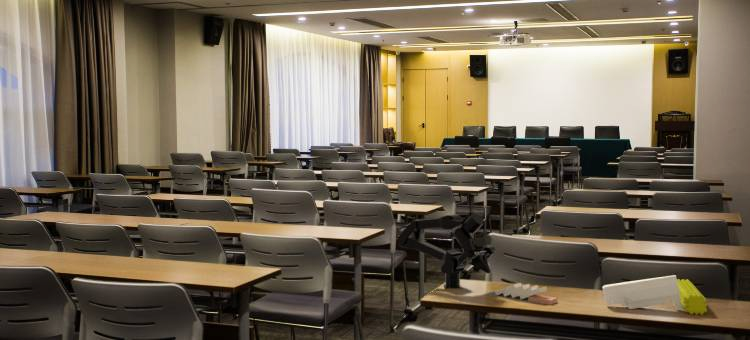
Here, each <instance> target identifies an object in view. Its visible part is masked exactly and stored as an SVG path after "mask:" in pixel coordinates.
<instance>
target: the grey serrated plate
mask: <svg viewBox="0 0 750 340" xmlns="http://www.w3.org/2000/svg"><path fill="white" fill-rule="evenodd" d="M495 291H496V290H494V291H489V292H487V293H483V294H482V295H483V296H490V297H495V298H502V299H507V300H513V301H517V302H525V303H529V304H536V305H541V303H538V302H532V301H528V298H524V299H520V296H518V297H514V298H512V296H511V295H509V296H505V297H504V295H503V294H499V295H496V293H495Z"/></svg>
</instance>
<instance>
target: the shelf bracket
mask: <svg viewBox="0 0 750 340" xmlns="http://www.w3.org/2000/svg"><path fill="white" fill-rule="evenodd" d="M677 279H678V278H677V275H675V274H673V275H666V276H661V277H660V276H659V277H652V278H644V279H639V280H630V281H624V282H618V283H617V282H616V283H610V284H604V285H603V286H602V287H601V288H602V292H603V297H604V302H605V304H606V305H607V306H610V305H611V306H612V305H617V304H618V305H620V306H623V307H626V308H628V309H629V310H633V309H638V308H639V309H640V308H646V307H647V308H648V307H653V306H659V305H664V304H665V305H666V304H667V303H669V302H672V303H673V306H674V308H676V309H677V310H678V311H681V312H683V311H684V310H683V309H684V308H683V305H682V303H681V298H680V291H679V286H678V283H677Z"/></svg>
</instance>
